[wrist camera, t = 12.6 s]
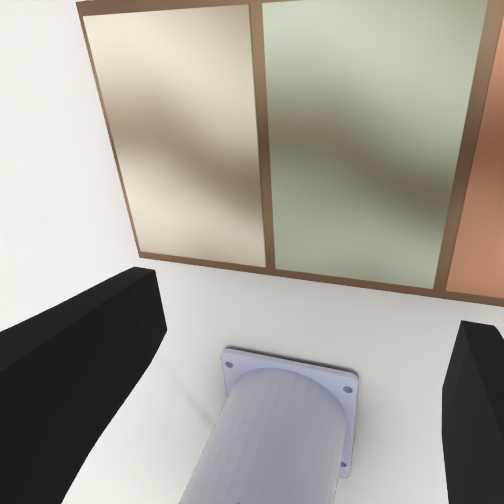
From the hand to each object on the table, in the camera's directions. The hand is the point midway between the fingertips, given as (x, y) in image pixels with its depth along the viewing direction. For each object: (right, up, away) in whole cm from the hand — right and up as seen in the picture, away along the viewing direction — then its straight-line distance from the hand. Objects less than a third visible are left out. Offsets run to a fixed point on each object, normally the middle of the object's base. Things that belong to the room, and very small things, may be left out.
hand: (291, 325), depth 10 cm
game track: (+7, +5, +6) cm, 10 cm away
